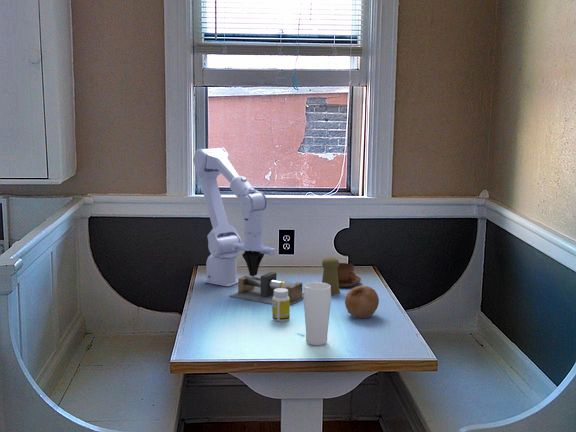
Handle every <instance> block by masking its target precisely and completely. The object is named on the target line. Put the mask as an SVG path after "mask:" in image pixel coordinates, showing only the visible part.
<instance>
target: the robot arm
mask: <svg viewBox="0 0 576 432" xmlns="http://www.w3.org/2000/svg"><path fill="white" fill-rule="evenodd" d="M229 155H230V154H229V152H228V151H227V150H226V148H224V147H222V146H221V147H215V148H214V147H213V148H212V147H210V148H197V149H196V150H195V152H194V155H193V158H192V161H193V164H194V168H195V169H194V170H195V172H196V177H198V179H199V182H200V187H201V190H202V194H203V197H204V198H203V199H204V202H205V205H206V208H207V212H208V215H209V219H210V223H211V227H212V229H211V230H210V232H209V233H208V234H207V241H208V242H207V243H208V244H207V246H208V251H209V254H210V255H209V256H208V257H207V259H206V265H205V266H206V267H205V268H206V269H205V270H206V274H205V275H206V276H205V277H206V280H205V281H204V282H205V283H207V284H212V285H218V286H223V287H231V286H234V285H236V284H238V279H239V278H237V273H238V271H237V267H238V266H237V256H239V253H240V252H244V253H242V254H241V256H242V259H244V262H245V264H246V266H247V269H248V273H249V274H250V276H254V277H256V276H257V275H258V272H259V266H260V264H261V262H262V259H263V258H264V256H265V255H268V256H271V257H272V256H275V255H276V248H275V247H270V246H266V245H264V243H263V241H264V239H263V238H264V237H263V236H264V229H263V226H264V221H263V220H264V212H263V211H264V210H266V208H267V204H268V201H267V196H266V195H265V193H264V192H263V191H258V190H256V189H255V187H254V186H252V184H251V183H250V182H249V180H248V178H247V177H246V176H243V175H239V174H238V172H237V170H236V169H235V167H234V166H233V165H232V163H231V161H230V156H229ZM220 175H222V176H223V177H224V178H225V179H226V180H227V181H228V182H229V189H230V190H231V191H232V193H233V194H234V195H235V197H236V198H237V199H238V200H239V206H240V207H239V208H240V210H241V213H242V214H241V216H242V218H243V241H242V239H241V236H240V235H239V234H238V231H237V229H236V228H235V227H233V226H232V225H230V223H229V221H228V217H227V214H226V209H225V206H224V202H223V198H222V195H221V192H220V188H219V183H218V180H217V178H218V176H220Z"/></svg>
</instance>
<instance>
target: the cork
mask: <svg viewBox="0 0 576 432" xmlns="http://www.w3.org/2000/svg"><path fill="white" fill-rule="evenodd" d="M321 263H322V264H321V266H322V269H323V273H322V279H321V282H323V283H327V284H329V285H330V286H331V296H337V295H339V294H340V292H341V291H340V286H339V282H338V273H337V268H338V267H339V263H340V262H339V259H338V258H336V257H325V258H323V260H322V261H321Z"/></svg>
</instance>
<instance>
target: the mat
mask: <svg viewBox="0 0 576 432" xmlns="http://www.w3.org/2000/svg"><path fill="white" fill-rule="evenodd" d="M273 296H274V293H272V294H270V295H268V296H261V288H260V287H254V289H252V290H250V291H248V292H246V293H244V294H242V293H238V292H235V293H233V294H230V295H229V297H230V298H235V299H241V300H245V301H246V300H247V301H251V302H257V303H263V304H267V305H272V298H273ZM301 300H304V292H302V298H300V299H298V300H296V301H294V302H292V303H291V302H290V306H292V305H294V304H295V303H298V302H300V301H301Z"/></svg>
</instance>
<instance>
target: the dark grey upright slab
mask: <svg viewBox="0 0 576 432" xmlns="http://www.w3.org/2000/svg"><path fill="white" fill-rule="evenodd" d="M260 278H261V296H268V295H270V294H272V293H274V290H271V289H268V280H269V279H271V280H277V272H275V271H270V272H267V273H265V274H263V275H260Z"/></svg>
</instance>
